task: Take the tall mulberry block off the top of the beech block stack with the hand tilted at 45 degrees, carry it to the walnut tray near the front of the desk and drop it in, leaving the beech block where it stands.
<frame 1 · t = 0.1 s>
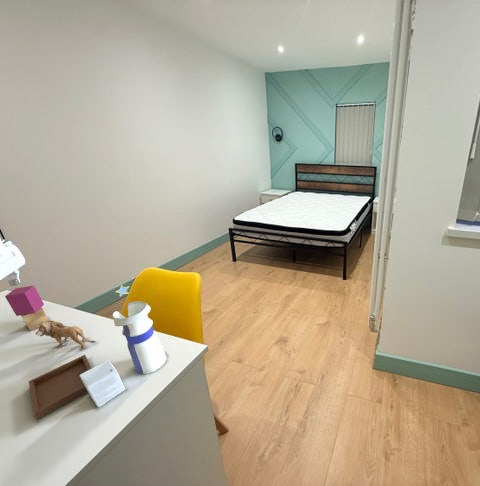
hand: (4, 292, 77), 19 cm above the table, tool pointing down, fingers open, 8 cm apart
white milk jug: (150, 363, 76), on the table
top block: (30, 310, 90), point 6 cm above the table, touching base block
tray: (65, 386, 70), on the table
base block: (38, 323, 93), on the table, touching top block
lion figurine: (70, 345, 83), on the table
product box: (108, 393, 68), on the table
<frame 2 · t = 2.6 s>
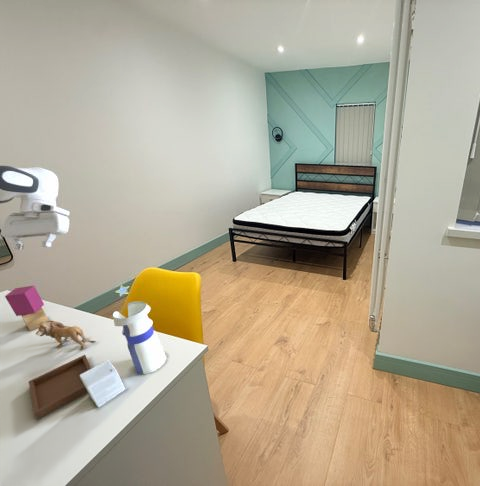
hand: (32, 248, 92), 25 cm above the table, tool tilted 35°, fingers open, 8 cm apart
nothing on the table moved.
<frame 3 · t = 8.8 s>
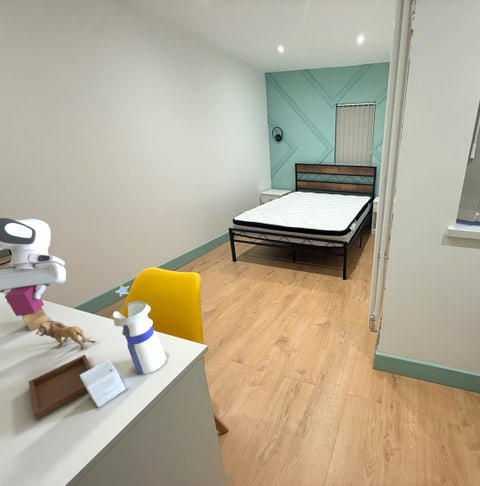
hand: (24, 301, 88), 10 cm above the table, tool tilted 45°, fingers closed on top block, 5 cm apart
top block: (30, 310, 90), point 6 cm above the table, touching base block, gripper
everything else where it was.
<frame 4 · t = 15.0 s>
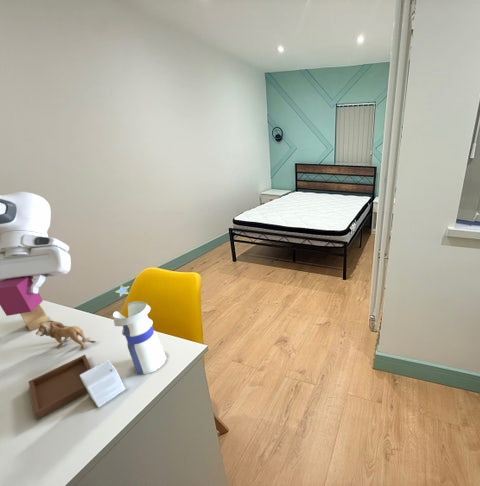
hand: (16, 296, 67), 24 cm above the table, tool tilted 45°, fingers closed on top block, 5 cm apart
top block: (25, 308, 69), point 19 cm above the table, touching gripper
base block: (38, 323, 93), on the table
everything else where it was.
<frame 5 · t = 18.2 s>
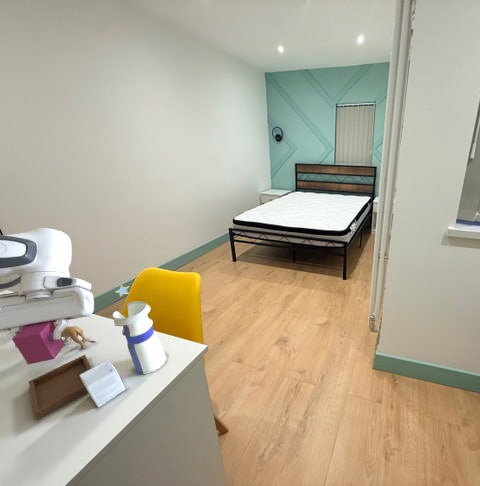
hand: (38, 343, 63), 16 cm above the table, tool tilted 45°, fingers closed on top block, 5 cm apart
top block: (47, 354, 65), point 11 cm above the table, touching gripper
everything else where it was.
when the fingers open (5 cm above the table, at t = 21.1 s): top block stays where it is, resting on tray.
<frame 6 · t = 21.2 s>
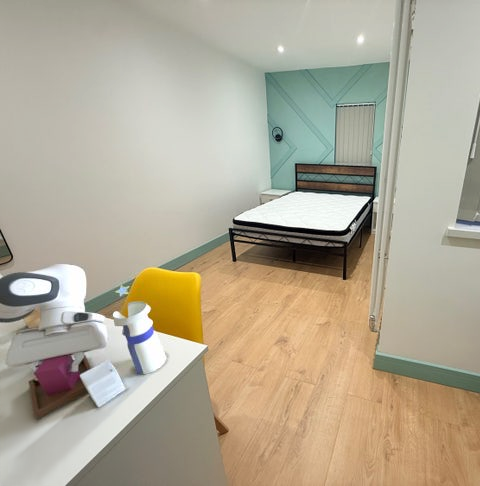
hand: (57, 376, 67), 5 cm above the table, tool tilted 45°, fingers open, 5 cm apart
top block: (64, 384, 69), point 1 cm above the table, touching tray
everything else where it was.
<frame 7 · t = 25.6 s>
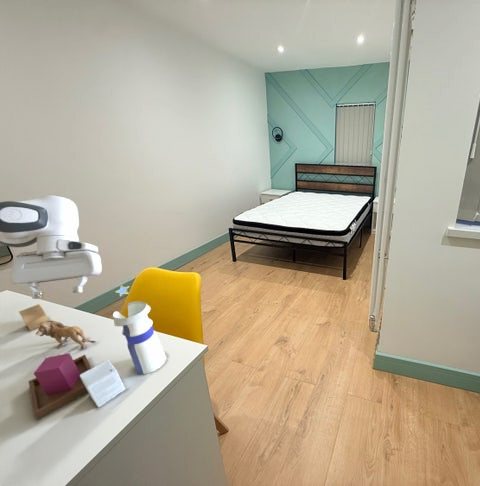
hand: (58, 295, 75), 19 cm above the table, tool tilted 35°, fingers open, 8 cm apart
nothing on the table moved.
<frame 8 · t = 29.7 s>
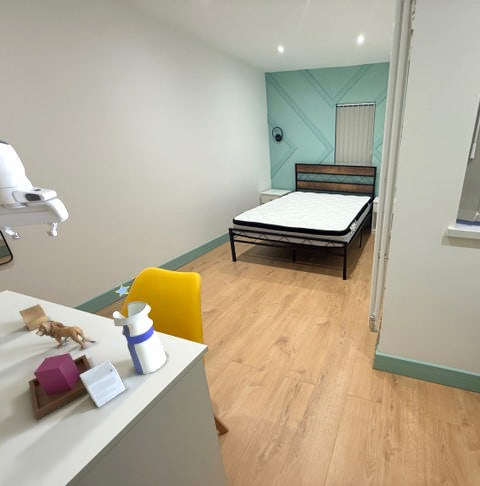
hand: (35, 237, 85), 31 cm above the table, tool pointing down, fingers open, 8 cm apart
nothing on the table moved.
at the end: top block inside the target area on the tray (0.0 cm from its centre), point 0.6 cm above the tray's base; top block touching tray; base block moved 0.0 cm from its start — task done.
